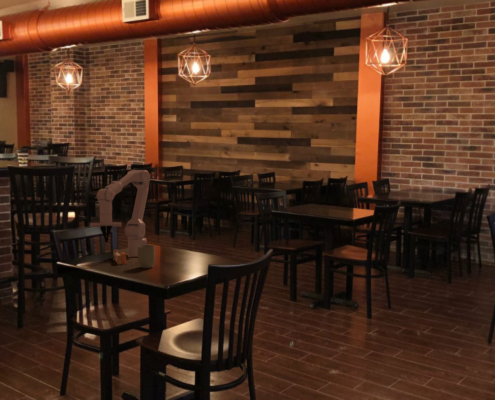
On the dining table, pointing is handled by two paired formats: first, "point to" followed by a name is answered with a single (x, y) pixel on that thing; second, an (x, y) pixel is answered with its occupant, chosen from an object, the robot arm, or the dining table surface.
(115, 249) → the pivot post
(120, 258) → the gate rail
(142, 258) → the cup
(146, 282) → the dining table surface
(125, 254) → the latch stile
